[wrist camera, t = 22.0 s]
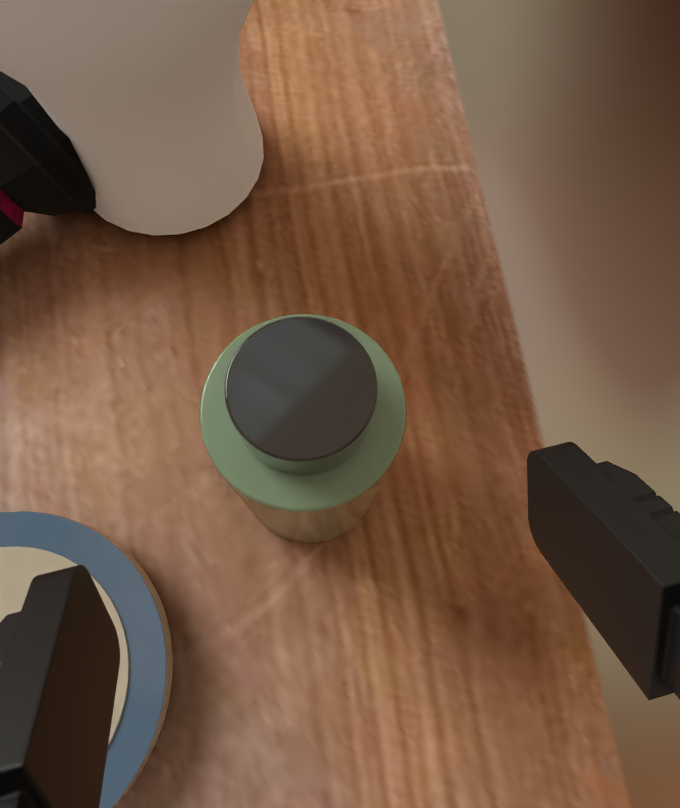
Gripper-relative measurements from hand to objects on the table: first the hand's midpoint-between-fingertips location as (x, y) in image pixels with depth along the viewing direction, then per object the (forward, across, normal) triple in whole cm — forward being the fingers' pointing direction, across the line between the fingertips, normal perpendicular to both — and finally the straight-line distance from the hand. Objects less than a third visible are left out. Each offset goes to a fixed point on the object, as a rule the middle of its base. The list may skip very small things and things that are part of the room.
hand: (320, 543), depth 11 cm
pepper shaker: (+10, 0, +5) cm, 11 cm away
